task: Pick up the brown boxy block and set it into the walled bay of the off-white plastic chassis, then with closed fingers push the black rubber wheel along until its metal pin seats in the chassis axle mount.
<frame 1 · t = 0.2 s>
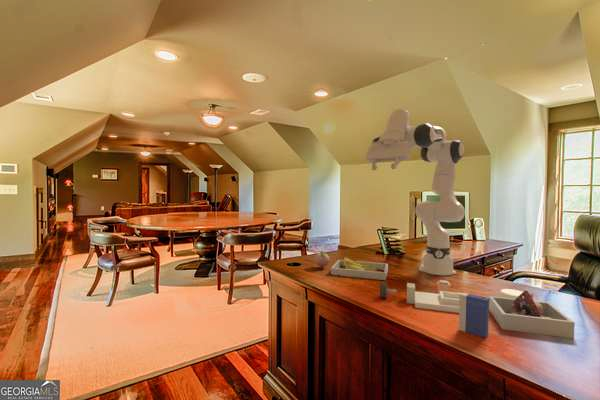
hand: (383, 168, 132), 54 cm above the table, tool tilted 30°, fingers open, 8 cm apart
walkman: (473, 333, 99), on the table
coaster: (514, 301, 129), on the table
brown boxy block: (443, 294, 135), on the table
wheel: (388, 290, 130), point 3 cm above the table, slide at 0.0 cm
decorative fruit: (321, 268, 178), on the table
sorting frame a: (360, 272, 170), on the table
plastic component: (359, 273, 171), resting in sorting frame a
sorting frame b: (526, 322, 107), on the table
brake caliper: (527, 323, 107), resting in sorting frame b
chassis: (441, 304, 123), on the table
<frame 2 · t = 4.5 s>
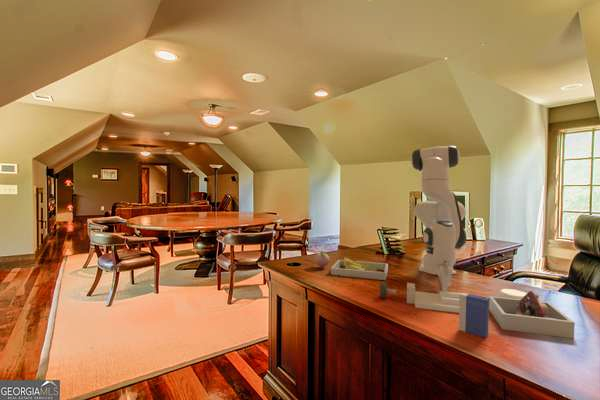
hand: (443, 290, 135), 2 cm above the table, tool pointing down, fingers closed on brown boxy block, 5 cm apart
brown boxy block: (443, 294, 135), on the table, touching gripper
brake caliper: (532, 324, 107), resting in sorting frame b
everything else where it was.
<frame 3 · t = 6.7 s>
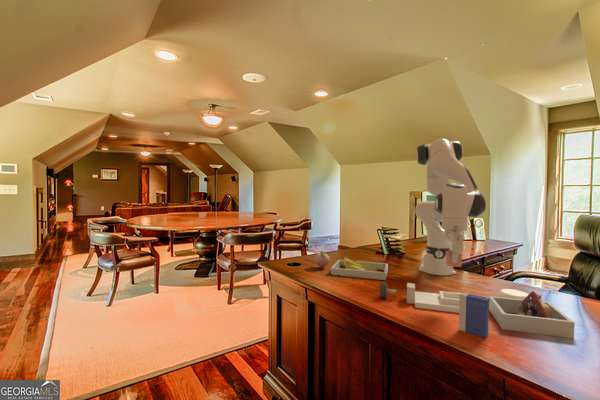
hand: (453, 260, 121), 18 cm above the table, tool pointing down, fingers closed on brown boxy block, 5 cm apart
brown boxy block: (453, 265, 121), point 16 cm above the table, touching gripper
when the fingers open (6 cm above the table, at t = 9.3 s): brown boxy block drops 2 cm, resting on chassis.
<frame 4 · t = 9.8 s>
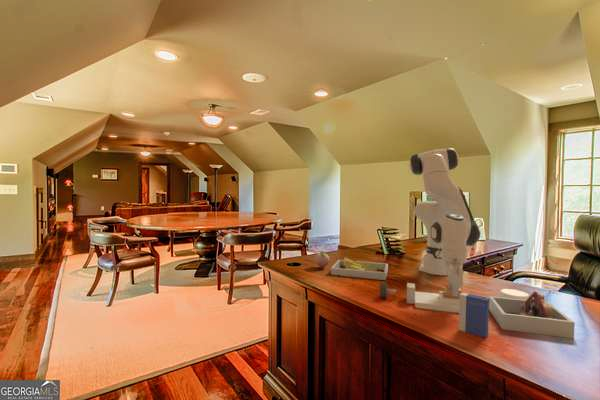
hand: (453, 291, 122), 6 cm above the table, tool pointing down, fingers open, 8 cm apart
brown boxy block: (452, 300, 122), point 2 cm above the table, touching chassis
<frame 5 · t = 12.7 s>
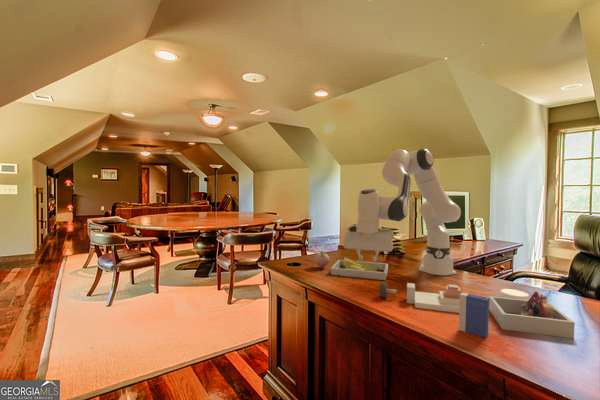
hand: (367, 260, 132), 15 cm above the table, tool pointing down, fingers open, 4 cm apart
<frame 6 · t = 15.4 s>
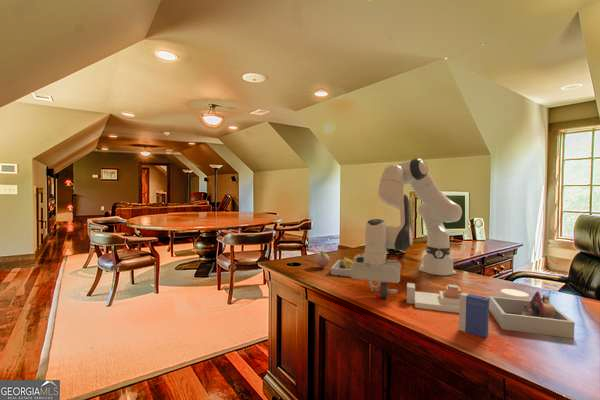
hand: (374, 290, 132), 2 cm above the table, tool pointing down, fingers closed
wheel: (388, 290, 130), point 3 cm above the table, slide at 0.2 cm, touching gripper
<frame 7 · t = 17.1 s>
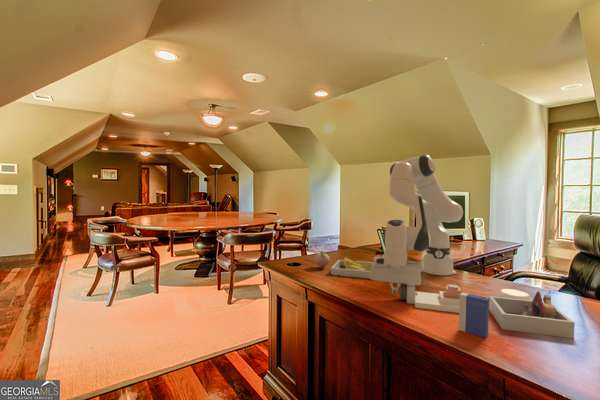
hand: (394, 292, 129), 3 cm above the table, tool pointing down, fingers closed
wheel: (408, 292, 127), point 3 cm above the table, slide at 7.9 cm, touching gripper
brake caliper: (539, 324, 106), resting in sorting frame b
everything else where it was.
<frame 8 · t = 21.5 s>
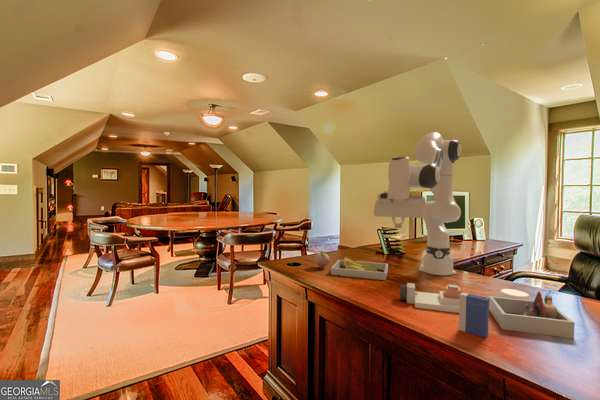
hand: (398, 227, 131), 29 cm above the table, tool pointing down, fingers closed
wheel: (408, 292, 127), point 3 cm above the table, slide at 7.8 cm
brake caliper: (540, 324, 106), resting in sorting frame b
everything else where it was.
at the end: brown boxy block 0.1 cm from the target spot on the chassis, point 2.0 cm above the chassis's base; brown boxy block tilted 0°; wheel slide at 7.8 cm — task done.
